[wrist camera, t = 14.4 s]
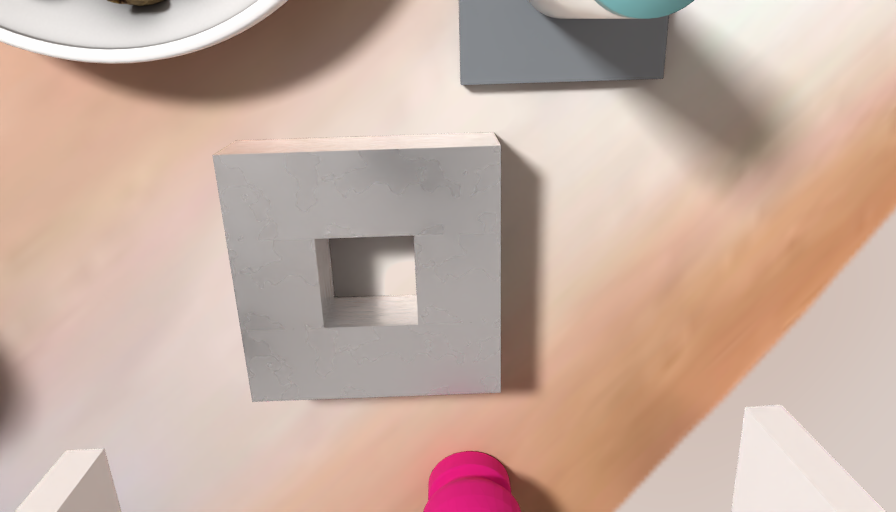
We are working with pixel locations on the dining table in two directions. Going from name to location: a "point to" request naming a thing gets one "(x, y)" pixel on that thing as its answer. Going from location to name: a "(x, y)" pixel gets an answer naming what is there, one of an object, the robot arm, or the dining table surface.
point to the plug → (608, 8)
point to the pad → (554, 45)
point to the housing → (365, 215)
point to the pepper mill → (470, 485)
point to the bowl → (126, 27)
